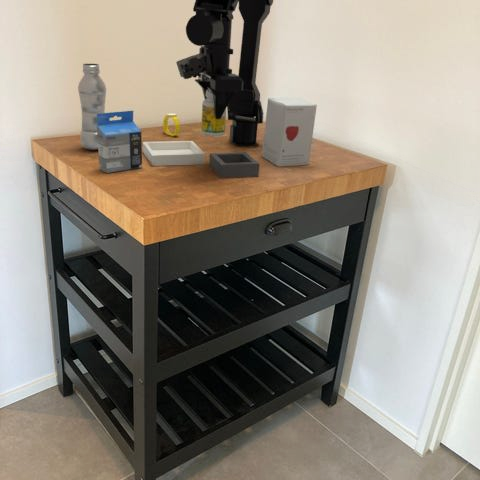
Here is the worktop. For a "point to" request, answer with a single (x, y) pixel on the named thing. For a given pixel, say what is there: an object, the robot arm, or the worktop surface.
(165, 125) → the watch
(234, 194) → the worktop surface
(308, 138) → the supplement box
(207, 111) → the supplement bottle
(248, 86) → the robot arm
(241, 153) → the socket collar
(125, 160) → the label tape box
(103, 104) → the plastic bottle
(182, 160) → the tray
